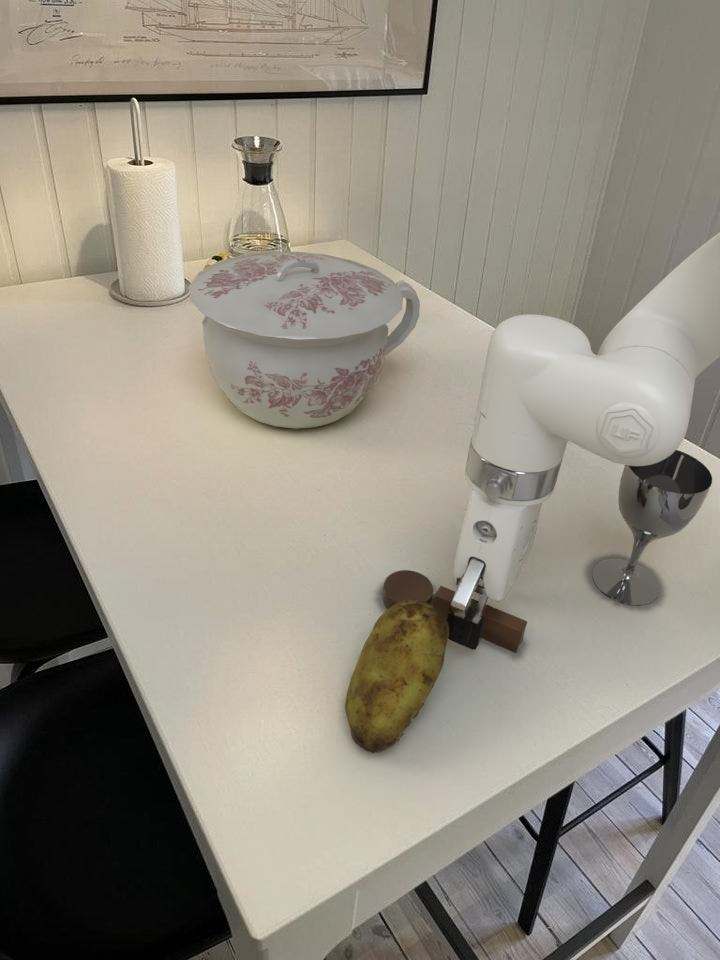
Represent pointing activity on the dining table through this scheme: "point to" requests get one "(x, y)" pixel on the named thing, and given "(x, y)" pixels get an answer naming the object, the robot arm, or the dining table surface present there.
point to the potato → (395, 673)
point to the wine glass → (652, 520)
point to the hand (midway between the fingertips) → (478, 610)
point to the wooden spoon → (417, 586)
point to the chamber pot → (299, 333)
